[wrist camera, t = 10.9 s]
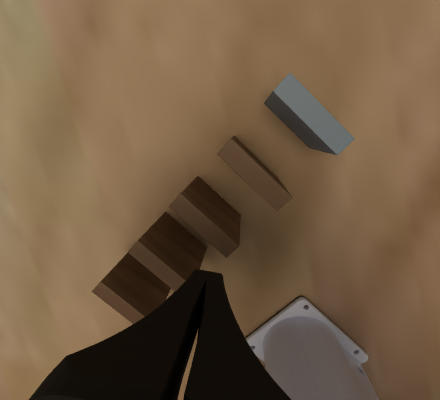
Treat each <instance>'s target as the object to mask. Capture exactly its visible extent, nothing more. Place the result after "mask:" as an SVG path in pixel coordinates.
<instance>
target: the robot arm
mask: <svg viewBox="0 0 440 400" xmlns="http://www.w3.org/2000/svg"><path fill="white" fill-rule="evenodd" d="M305 305H308V306H307V307H304V306H305ZM198 328H199V329H198ZM197 331H198V338H197V345H196V349H195V353H194V357H193V361H192V366H191V370H190V374H189V377H188V381H187V385H186V389H185V393H184V400H379V398H378V396H377V394H376V392H375V390H374V388H373V386H372V384H371V382H370V380H369V378H368V376H367V374H366V372H365V370H364V368H363V367H362V365H361V364H363V363H364V362H366V361H367V360H368V355H367V354H366V352H365V351H364V350H362V349H361V348H360V347H359V346H358V345H357V344H356V343H355V342H354V341H352V340H351V339H350V338H349V337H348V336H347V335H346V334H345V333H344V332H342V331H341V330H340V329H339V328H338V327H337V326H336V325H335V324H334V323H332V322H331V321H330V320H329V319H328V318H327V317H326V316H325V315H324V314H322V313H321V312H320V311H319V310H318V309H317V308H316V307H315V306H314V305H312V304H311V303H310V302H309V301H308V300H307V299H306V298H304V297H300V298H298V299H296V300H295V301H294V302H293V303H291V304H290V305H289V306H287V307H286V308H285V309H283V310H282V311H281V312H280V313H278V314H277V315H276V316H274V317H273V318H272V319H270V320H269V321H268V322H267V323H265V324H264V325H263V326H261V327H260V328H259V329H258V330H256V331H255V332H254V333H252V334H251V335H250V336H248V337H247V338H246V339H245V337H244V335H243V333H242V331H241V329H240V327H239V325H238V323H237V321H236V319H235V316H234V314H233V312H232V309H231V306H230V304H229V301H228V298H227V294H226V291H225V287H224V282H223V275H222V274H220V273H215V272H209V271H204V270H199V269H195V270H194V271H193V272H192V273H191V275H190V276H189V277H188V278H187V280H186V281H185V282H184V283H183V284H182V285H181V286H180V287H179V288H178V289H177V290H176V291H175V292H174V293H173V294H172V295H171V296H170V297H169V298H168V299H166V300H165V301H164V302H163V303H162V304H161V305H160V306H158V307H157V308H156V309H155V310H153V311H152V312H151V313H149V314H148V315H146V316H145V317H144V318H142V319H141V320H139V321H137V322H136V323H134V324H133V325H131V326H130V327H128V328H126V329H125V330H123V331H121V332H119V333H117V334H115V335H113V336H111V337H110V338H108V339H106V340H103V341H101V342H99V343H97V344H95V345H92V346H90V347H87V348H85V349H83V350H80V351H78V352H75V353H73V354H70V355H68V356H66V357H65V358H64V359H63V360H62V361H61V362H60V363H59V364H58V365H57V366H56V367H55V368H54V369H53V371H52V372H51V373H50V374H49V375H48V376H47V377H46V379H45V380H44V381H43V382H42V384H41V385H40V386H39V387H38V389H37V390H36V391H35V393H34V394H33V395H32V396H31V398H30V399H29V400H177V399H178V395H179V390H180V386H181V383H182V379H183V375H184V372H185V369H186V366H187V363H188V359H189V356H190V353H191V350H192V347H193V344H194V340H195V337H196V334H197ZM355 350H356V351H355ZM257 357H258V358H260V359H261V360H262V361H263V362H264V364H265V368H264V367H263V365H262V364H261V362H260V361H259V359H258V358H257Z"/></svg>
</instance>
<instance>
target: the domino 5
mask: <svg viewBox="0 0 440 400" xmlns="http://www.w3.org/2000/svg"><path fill="white" fill-rule="evenodd" d="M264 104H265V105H266V106H267V107H268V108H269V109H270V110H271V111H272V112H273V113H274V114H276V115H277V116H278V117H279V118H280V119H281V120H282V121H283V122H284V123H285V124H286V125H287V126H288V127H289V128H290V129H291V130H292V131H293V132H294V133H295V134H296V135H297V136H298V137H299V138H300V139H301V140H302V141H303V142H304V143H305V144H306V145H307V146H308V147H309V148H312V149H316V150H319V151H323V152H327V153H331V154H334V155H338V154H339V153H340V152H341V151H342V150H344V149H345V148H346V147H347V146H348V145H349V144H350V143H351V142H352V141H353V140H354V139H355V138H354V137H353V136H352V135H351V134H350V133H349V132H348V131H347V130H346V129H345V128H344V127H343V126H342V125H341V124H340V123H339V122H338V121H337V120H336V119H335V118H334V117H333V116H332V115H331V114H330V113H329V112H328V111H327V110H326V109H325V108H324V107H323V106H322V105H321V104H320V103H319V102H318V101H317V100H316V99H315V98H314V96H313V95H312V94H311V93H310V92H309V91H308V90H307V89H306V88H305V87H304V86H303V85H302V84H301V83H300V82H299V81H298V80H297V79H296V78H295V77H294V76H293V75H292V74H291V73H289V74H288V75H287V76H286V77H285V78H284V80H283V81H282V82H281V83H280V84H279V85H278V86H277V87H276V89H275V90H274V91H273V92H272V93H271V95H270V96H269V97H268V99H267V100H266V101H265V103H264Z"/></svg>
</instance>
